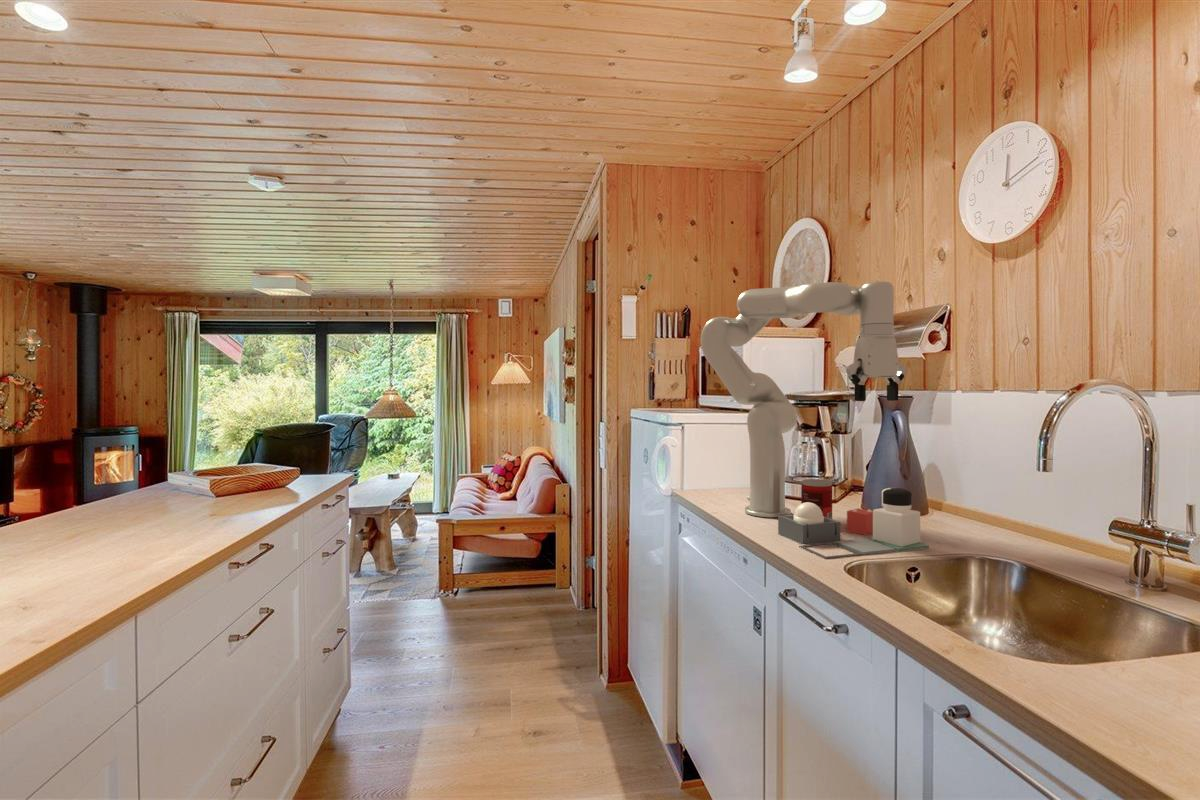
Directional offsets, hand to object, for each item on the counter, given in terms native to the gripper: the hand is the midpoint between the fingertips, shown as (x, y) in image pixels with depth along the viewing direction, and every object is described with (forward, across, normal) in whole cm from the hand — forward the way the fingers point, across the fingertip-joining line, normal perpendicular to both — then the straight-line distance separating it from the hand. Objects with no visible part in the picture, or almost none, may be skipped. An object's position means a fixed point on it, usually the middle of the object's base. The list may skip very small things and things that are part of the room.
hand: (876, 400), depth 144 cm
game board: (+32, +15, +13) cm, 38 cm away
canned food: (+32, +10, -10) cm, 35 cm away
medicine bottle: (+32, +6, +13) cm, 35 cm away
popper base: (+32, +21, +2) cm, 39 cm away
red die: (+32, +5, +1) cm, 33 cm away
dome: (+30, +21, +2) cm, 37 cm away
